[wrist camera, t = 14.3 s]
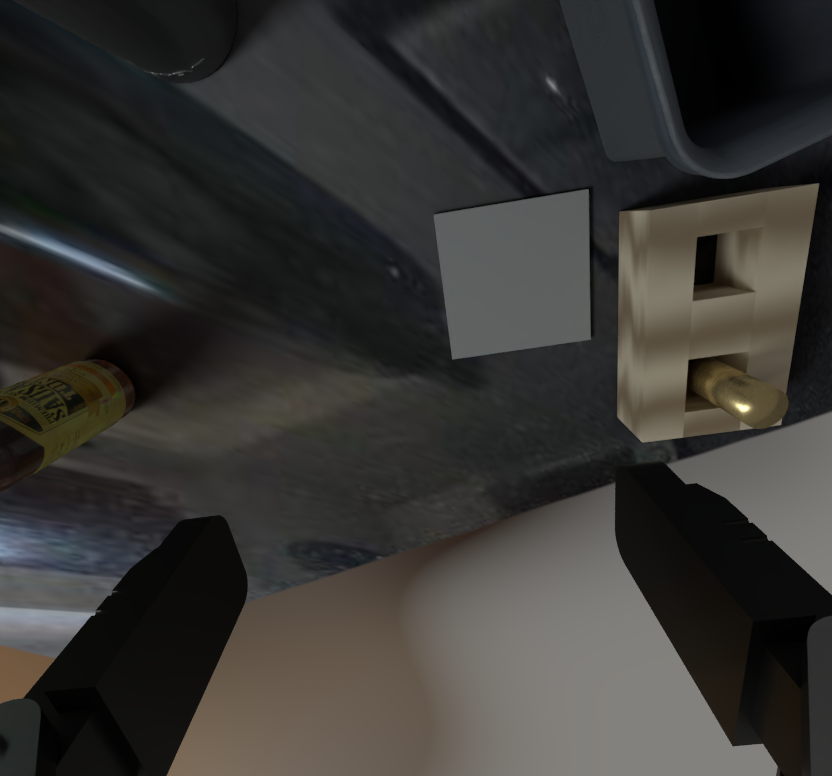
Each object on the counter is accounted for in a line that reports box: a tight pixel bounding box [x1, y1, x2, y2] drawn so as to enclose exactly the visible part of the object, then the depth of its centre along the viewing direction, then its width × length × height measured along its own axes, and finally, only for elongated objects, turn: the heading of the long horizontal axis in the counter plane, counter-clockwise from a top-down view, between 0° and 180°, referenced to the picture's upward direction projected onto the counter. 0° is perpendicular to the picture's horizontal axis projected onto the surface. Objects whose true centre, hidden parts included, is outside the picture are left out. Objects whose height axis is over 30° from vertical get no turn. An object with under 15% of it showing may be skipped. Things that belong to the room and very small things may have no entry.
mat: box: [434, 189, 591, 359], centre depth 36 cm, size 12×12×1 cm
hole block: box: [617, 183, 819, 443], centre depth 35 cm, size 18×11×5 cm, turn 9°
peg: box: [686, 357, 788, 429], centre depth 34 cm, size 3×3×10 cm
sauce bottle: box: [0, 360, 135, 492], centre depth 31 cm, size 7×6×20 cm
